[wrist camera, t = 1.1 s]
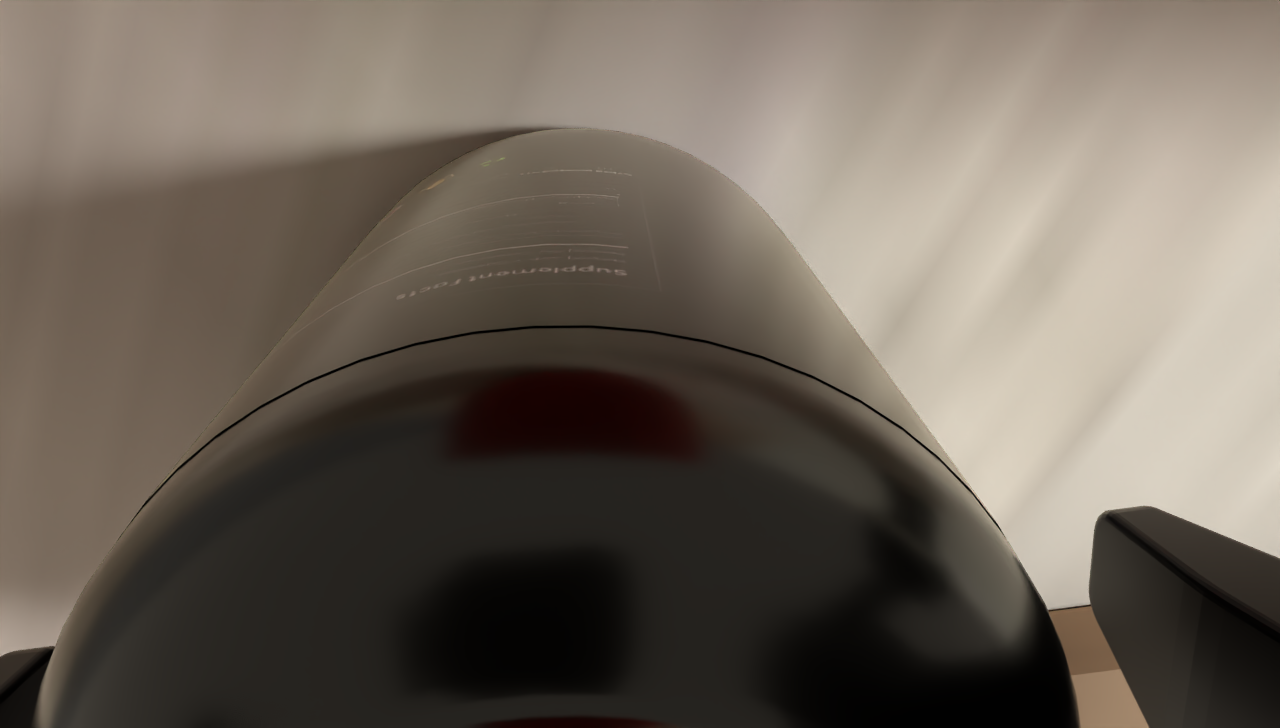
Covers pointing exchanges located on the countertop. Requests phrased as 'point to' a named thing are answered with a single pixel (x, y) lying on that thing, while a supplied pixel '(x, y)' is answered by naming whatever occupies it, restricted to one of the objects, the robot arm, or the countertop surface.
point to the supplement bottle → (564, 492)
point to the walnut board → (1095, 673)
